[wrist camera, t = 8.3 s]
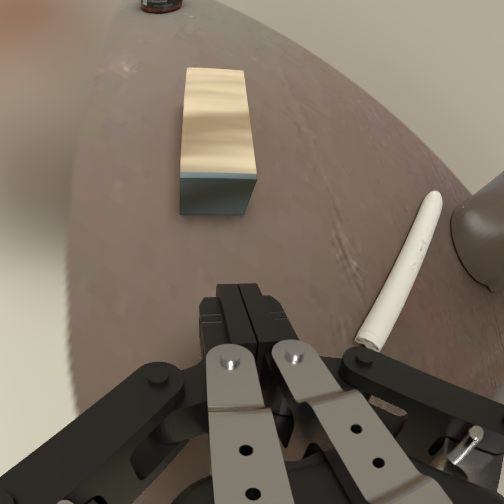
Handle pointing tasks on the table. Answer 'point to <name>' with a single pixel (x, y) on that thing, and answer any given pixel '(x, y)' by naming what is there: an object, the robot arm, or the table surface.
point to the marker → (401, 276)
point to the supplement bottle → (160, 5)
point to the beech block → (216, 144)
